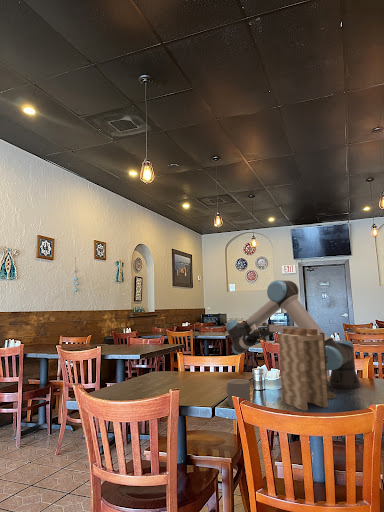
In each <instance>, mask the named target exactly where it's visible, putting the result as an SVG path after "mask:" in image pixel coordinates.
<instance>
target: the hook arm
mask: <svg viewBox="0 0 384 512" xmlns="http://www.w3.org/2000/svg"><path fill="white" fill-rule="evenodd" d="M274 324H275V323H270V324H269V323H267V324H266V329H267V332H275V333H279V334H283V328H289V329H298V328H299V327H298V326H293V325H281V324H280V325H279V324H278V325H274Z"/></svg>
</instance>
